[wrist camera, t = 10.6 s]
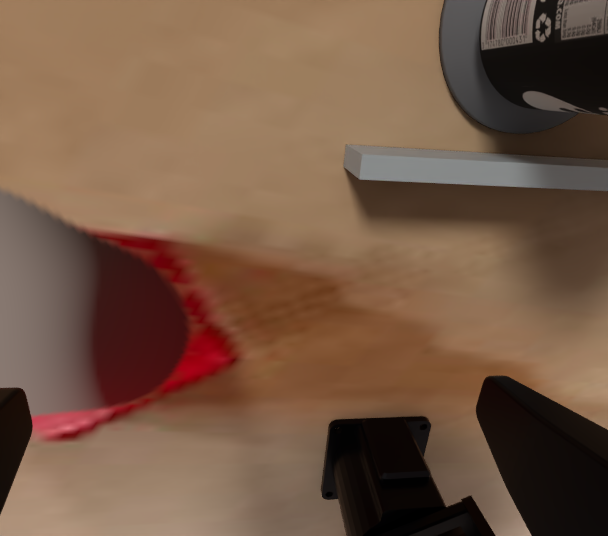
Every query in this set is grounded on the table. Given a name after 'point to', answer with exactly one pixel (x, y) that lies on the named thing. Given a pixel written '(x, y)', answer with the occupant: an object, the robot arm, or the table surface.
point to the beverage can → (547, 53)
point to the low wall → (475, 168)
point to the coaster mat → (482, 75)
